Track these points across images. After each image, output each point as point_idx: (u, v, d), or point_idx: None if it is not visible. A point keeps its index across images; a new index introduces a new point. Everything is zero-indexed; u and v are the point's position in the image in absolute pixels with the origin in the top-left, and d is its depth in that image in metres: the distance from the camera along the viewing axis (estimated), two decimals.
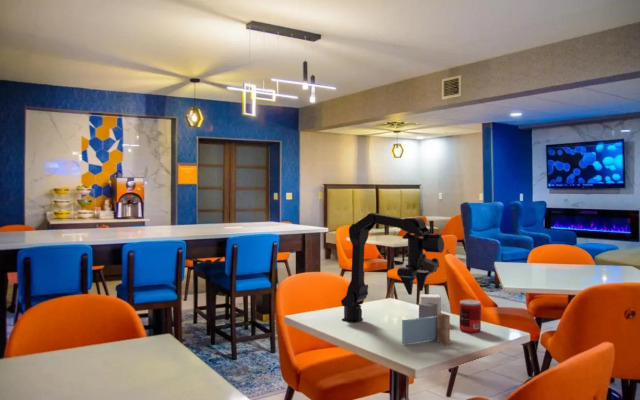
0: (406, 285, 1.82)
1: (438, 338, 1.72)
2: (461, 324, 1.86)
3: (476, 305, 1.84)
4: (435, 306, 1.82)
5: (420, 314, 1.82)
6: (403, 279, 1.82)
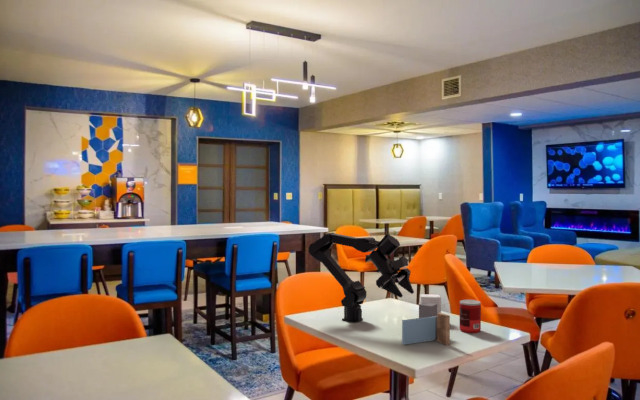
0: (393, 291, 1.85)
1: (438, 338, 1.72)
2: (461, 324, 1.86)
3: (476, 305, 1.84)
4: (435, 306, 1.82)
5: (420, 314, 1.82)
6: (387, 288, 1.86)
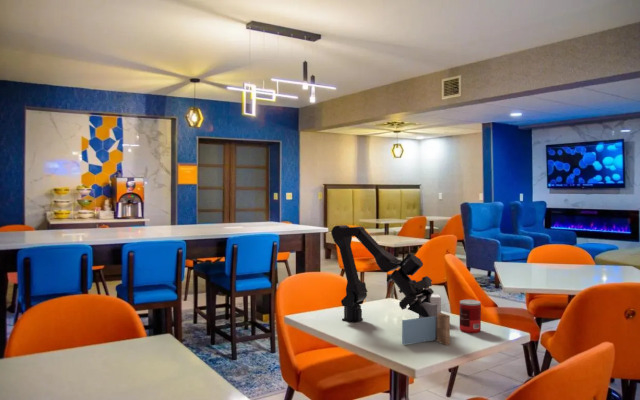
0: (419, 312, 1.81)
1: (438, 338, 1.72)
2: (461, 324, 1.86)
3: (476, 305, 1.84)
4: (435, 306, 1.82)
5: None
6: (413, 309, 1.81)
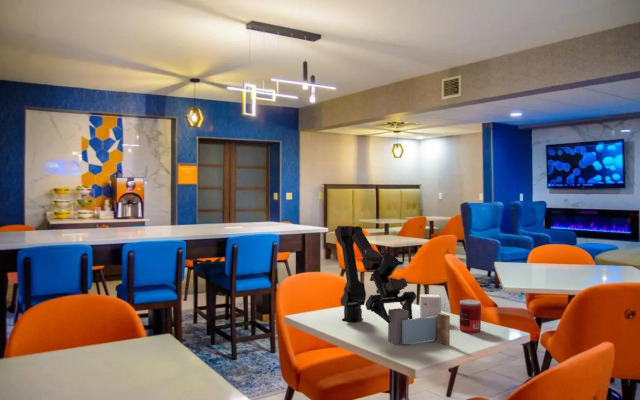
0: (381, 315, 1.72)
1: (438, 338, 1.72)
2: (461, 324, 1.86)
3: (476, 305, 1.84)
4: (404, 313, 1.71)
5: None
6: (376, 311, 1.73)
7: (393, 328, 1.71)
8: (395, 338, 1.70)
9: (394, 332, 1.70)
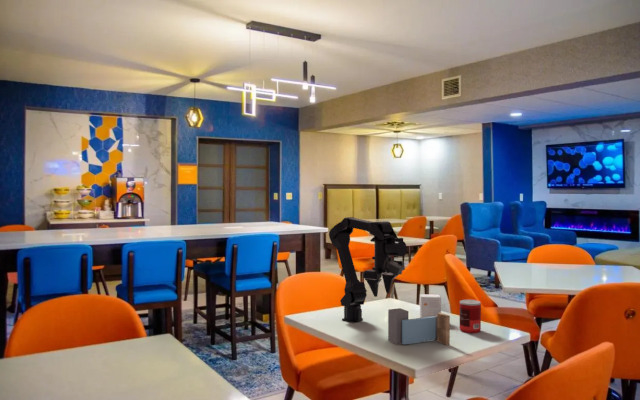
0: (372, 287, 1.86)
1: (438, 338, 1.72)
2: (461, 324, 1.86)
3: (476, 305, 1.84)
4: (404, 313, 1.71)
5: (389, 320, 1.73)
6: (369, 281, 1.86)
7: (393, 328, 1.71)
8: (395, 338, 1.70)
9: (394, 332, 1.70)
